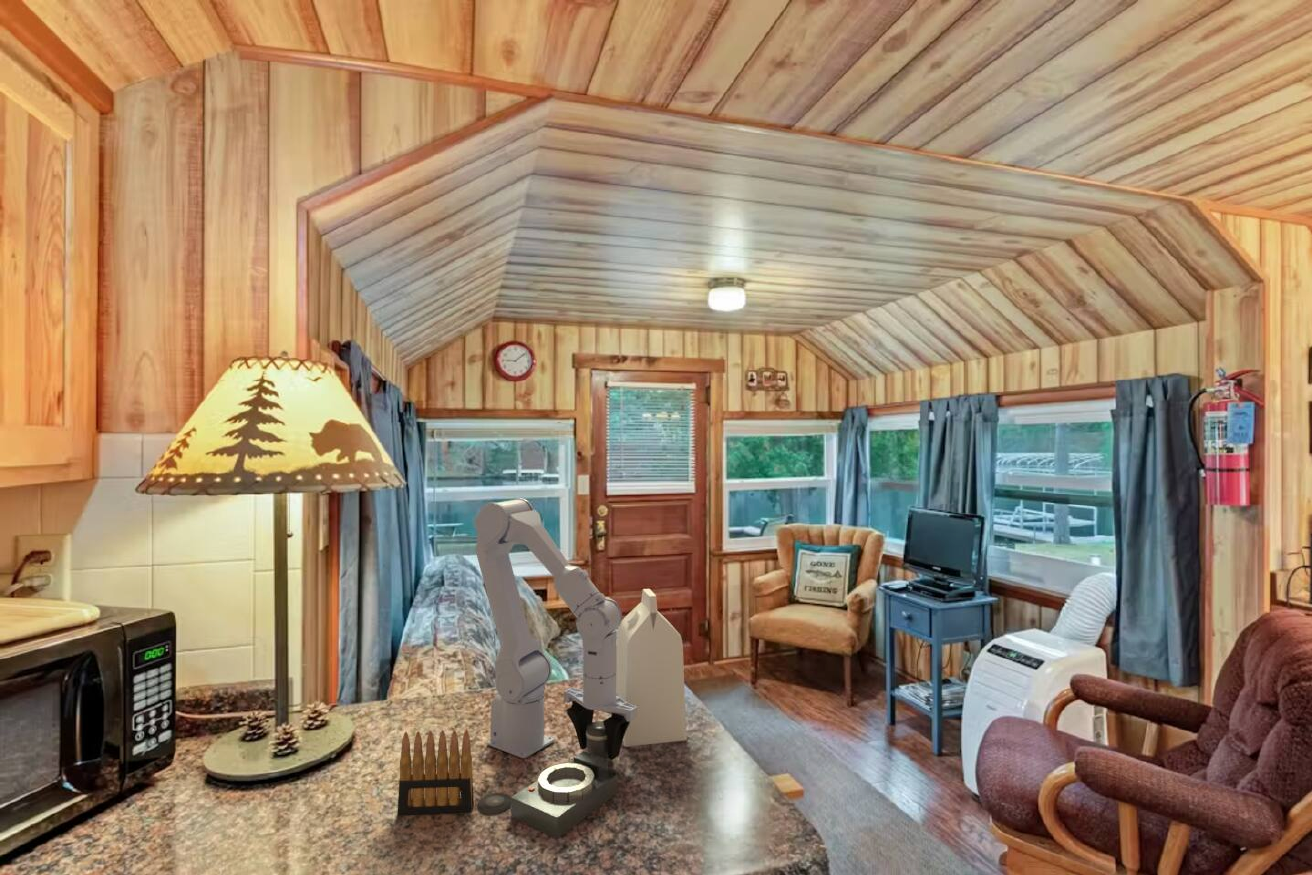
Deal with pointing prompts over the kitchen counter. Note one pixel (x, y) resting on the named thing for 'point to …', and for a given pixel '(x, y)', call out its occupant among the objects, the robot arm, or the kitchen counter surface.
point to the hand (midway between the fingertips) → (599, 751)
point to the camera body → (565, 794)
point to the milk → (651, 675)
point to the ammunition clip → (435, 777)
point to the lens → (597, 740)
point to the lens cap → (494, 803)
